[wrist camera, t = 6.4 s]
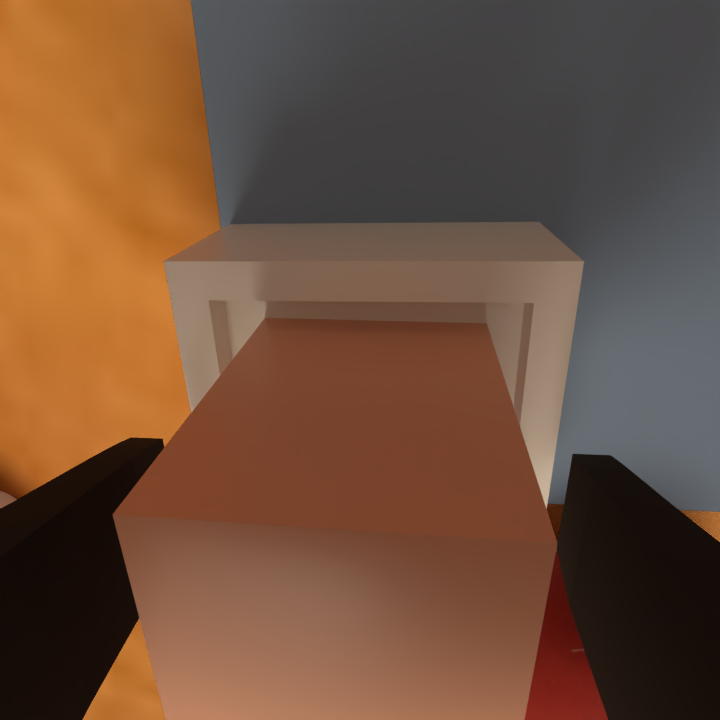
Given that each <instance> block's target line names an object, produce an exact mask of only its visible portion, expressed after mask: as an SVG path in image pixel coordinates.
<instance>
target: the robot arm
mask: <svg viewBox="0 0 720 720" xmlns="http://www.w3.org/2000/svg"><path fill="white" fill-rule="evenodd" d="M163 449H164V444H163V439H154V438H129V439H127V440H125V441H122V442H120V443H118V444H116V445H114V446H112V447H110V448H108V449H106V450H105V451H103V452H101V453H99V454H97V455H95V456H93V457H92V458H90V459H88V460H86V461H85V462H83V463H81V464H79V465H77V466H76V467H74V468H72V469H70V470H69V471H67V472H65V473H63V474H62V475H60V476H58V477H56V478H54V479H53V480H51V481H49V482H47V483H46V484H44V485H42V486H40V487H38V488H37V489H35V490H33V491H31V492H30V493H28V494H26V495H24V496H23V497H21V498H19V499H17V500H15V501H14V502H12V503H10V504H8V505H6V506H4V507H2V508H0V720H82V719H83V718H84V716H85V714H86V712H87V710H88V708H89V706H90V704H91V702H92V700H93V699H94V697H95V695H96V693H97V691H98V690H99V688H100V686H101V684H102V683H103V681H104V679H105V677H106V676H107V674H108V672H109V670H110V668H111V667H112V665H113V663H114V661H115V660H116V658H117V656H118V654H119V653H120V651H121V649H122V647H123V645H124V644H125V642H126V640H127V638H128V637H129V635H130V633H131V631H132V629H133V628H134V626H135V624H136V622H137V621H138V619H139V615H138V611H137V607H136V603H135V599H134V595H133V592H132V588H131V584H130V580H129V576H128V572H127V569H126V565H125V561H124V557H123V553H122V549H121V545H120V542H119V538H118V534H117V530H116V526H115V522H114V519H113V513H114V512H115V511H116V509H117V508H118V507H119V506H120V504H121V503H122V502H123V500H124V499H125V498H126V497H127V495H128V494H129V493H130V491H131V490H132V489H133V488H134V486H135V485H136V484H137V482H138V481H139V480H140V478H141V477H142V476H143V475H144V473H145V472H146V471H147V469H148V468H149V467H150V466H151V464H152V463H153V462H154V460H155V459H156V458H157V456H158V455H159V454H160V453H161V451H162V450H163ZM557 551H558V556H559V561H560V566H561V571H562V576H563V580H564V585H565V589H566V594H567V598H568V603H569V606H570V609H571V613H572V616H573V619H574V622H575V625H576V628H577V630H578V633H579V636H580V639H581V642H582V645H583V648H584V651H585V654H586V657H587V660H588V663H589V666H590V668H591V671H592V674H593V677H594V680H595V683H596V686H597V689H598V692H599V694H600V697H601V700H602V703H603V706H604V709H605V712H606V715H607V718H608V720H720V542H719V541H717V540H716V539H715V538H713V537H712V536H711V535H710V534H708V533H707V532H706V531H704V530H703V529H702V528H701V527H699V526H698V525H697V524H696V523H694V522H693V521H692V520H691V519H689V518H688V517H687V516H686V515H684V514H683V513H682V512H681V511H679V510H678V509H677V508H676V507H675V506H673V505H672V504H671V503H670V502H668V501H667V500H666V499H665V498H664V497H662V496H661V495H660V494H659V493H657V492H656V491H655V490H654V489H653V488H651V487H650V486H649V485H648V484H647V483H645V482H644V481H643V480H642V479H640V478H639V477H638V476H637V475H636V474H634V473H633V472H632V471H631V470H629V469H628V468H627V467H626V466H624V465H623V464H622V463H621V462H619V461H618V460H617V459H615V458H614V457H613V456H611V455H593V454H572V460H571V466H570V472H569V478H568V484H567V490H566V496H565V502H564V508H563V514H562V520H561V526H560V532H559V538H558V544H557Z"/></svg>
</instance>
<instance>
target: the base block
mask: <svg viewBox="0 0 720 720" xmlns="http://www.w3.org/2000/svg"><path fill="white" fill-rule="evenodd" d="M164 266H165V271H166V277H167V282H168V288H169V293H170V299H171V304H172V310H173V315H174V321H175V327H176V332H177V338H178V343H179V349H180V354H181V360H182V365H183V371H184V376H185V382H186V387H187V393H188V398H189V404H190V409H191V413H192V411H193V410H194V409H195V407H196V406H197V405H198V404H199V402H200V401H201V400H202V398H203V397H204V396H205V394H206V393H207V392H208V391H209V389H210V388H211V387H212V385H213V384H214V383H215V382H216V380H217V379H218V378H219V376H220V375H221V374H222V372H223V371H224V370H225V369H226V367H227V366H228V365H229V363H230V362H231V361H232V360H233V358H234V357H235V356H236V354H237V353H238V352H239V351H240V349H241V348H242V347H243V345H244V344H245V343H246V341H247V340H248V339H249V338H250V336H251V335H252V334H253V332H254V331H255V330H256V329H257V327H258V326H259V325H260V323H261V322H262V321H263V320H264V318H292V319H332V320H372V321H412V322H452V323H487V326H488V329H489V332H490V335H491V339H492V342H493V345H494V348H495V351H496V354H497V357H498V360H499V363H500V366H501V370H502V373H503V376H504V379H505V382H506V385H507V388H508V391H509V394H510V397H511V401H512V404H513V407H514V410H515V413H516V416H517V419H518V422H519V425H520V428H521V432H522V435H523V438H524V441H525V444H526V447H527V450H528V453H529V456H530V459H531V463H532V466H533V469H534V472H535V475H536V478H537V481H538V484H539V487H540V490H541V494H542V497H543V500H544V503H545V506H546V509H547V504H548V497H549V490H550V484H551V477H552V471H553V464H554V457H555V451H556V444H557V438H558V431H559V424H560V418H561V411H562V405H563V398H564V391H565V385H566V378H567V371H568V365H569V358H570V352H571V345H572V338H573V332H574V325H575V319H576V312H577V305H578V299H579V292H580V286H581V279H582V272H583V266H584V261H583V260H582V259H581V258H580V257H579V256H577V255H576V254H575V253H574V252H573V251H572V250H571V249H569V248H568V247H567V246H566V245H565V244H564V243H563V242H561V241H560V240H559V239H558V238H557V237H556V236H555V235H554V234H552V233H551V232H550V231H549V230H548V229H547V228H546V227H544V226H543V225H542V224H541V223H540V222H433V223H299V224H229V225H228V226H226V227H224V228H222V229H220V230H219V231H217V232H215V233H213V234H212V235H210V236H208V237H206V238H204V239H203V240H201V241H199V242H197V243H196V244H194V245H192V246H190V247H188V248H187V249H185V250H183V251H181V252H180V253H178V254H176V255H174V256H172V257H171V258H169V259H167V260H165V261H164Z"/></svg>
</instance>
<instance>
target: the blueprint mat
mask: <svg viewBox="0 0 720 720" xmlns="http://www.w3.org/2000/svg"><path fill="white" fill-rule="evenodd" d="M191 5H192V12H193V20H194V27H195V35H196V43H197V50H198V58H199V65H200V73H201V80H202V88H203V96H204V103H205V111H206V118H207V126H208V133H209V141H210V149H211V156H212V164H213V171H214V179H215V186H216V194H217V202H218V209H219V217H220V224H221V229H222V228H224V227H226V226H228V225H229V224H299V223H433V222H540V223H541V224H542V225H543V226H544V227H546V228H547V229H548V230H549V231H550V232H551V233H552V234H554V235H555V236H556V237H557V238H558V239H559V240H560V241H561V242H563V243H564V244H565V245H566V246H567V247H568V248H569V249H571V250H572V251H573V252H574V253H575V254H576V255H577V256H579V257H580V258H581V259H582V260H583V261H584V266H583V272H582V279H581V286H580V292H579V299H578V305H577V312H576V319H575V325H574V332H573V338H572V345H571V352H570V358H569V365H568V371H567V378H566V385H565V391H564V398H563V405H562V411H561V418H560V424H559V431H558V438H557V444H556V451H555V457H554V464H553V471H552V477H551V484H550V490H549V497H548V504H563V505H564V502H565V496H566V490H567V484H568V478H569V472H570V466H571V460H572V454H593V455H611V456H613V457H614V458H615V459H617V460H618V461H619V462H621V463H622V464H623V465H624V466H626V467H627V468H628V469H629V470H631V471H632V472H633V473H634V474H636V475H637V476H638V477H639V478H640V479H642V480H643V481H644V482H645V483H647V484H648V485H649V486H650V487H651V488H653V489H654V490H655V491H656V492H657V493H659V494H660V495H661V496H662V497H664V498H665V499H666V500H667V501H668V502H670V503H671V504H672V505H673V506H675V507H676V508H677V509H678V510H693V511H715V512H720V0H191Z"/></svg>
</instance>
